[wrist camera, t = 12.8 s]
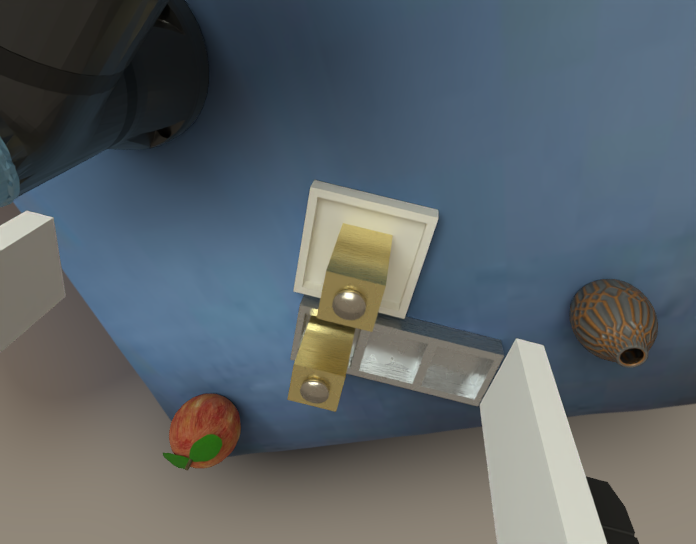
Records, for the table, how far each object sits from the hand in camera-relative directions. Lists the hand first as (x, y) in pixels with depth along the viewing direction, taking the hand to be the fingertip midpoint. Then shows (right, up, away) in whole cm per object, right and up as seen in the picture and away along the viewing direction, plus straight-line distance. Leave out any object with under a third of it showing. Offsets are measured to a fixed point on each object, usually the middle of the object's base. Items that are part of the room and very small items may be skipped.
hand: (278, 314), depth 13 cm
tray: (+4, +4, +34) cm, 34 cm away
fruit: (-16, -17, +50) cm, 55 cm away
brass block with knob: (0, -5, +39) cm, 40 cm away
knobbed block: (+3, +3, +33) cm, 34 cm away
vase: (+27, -1, +33) cm, 43 cm away
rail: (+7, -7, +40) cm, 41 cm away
